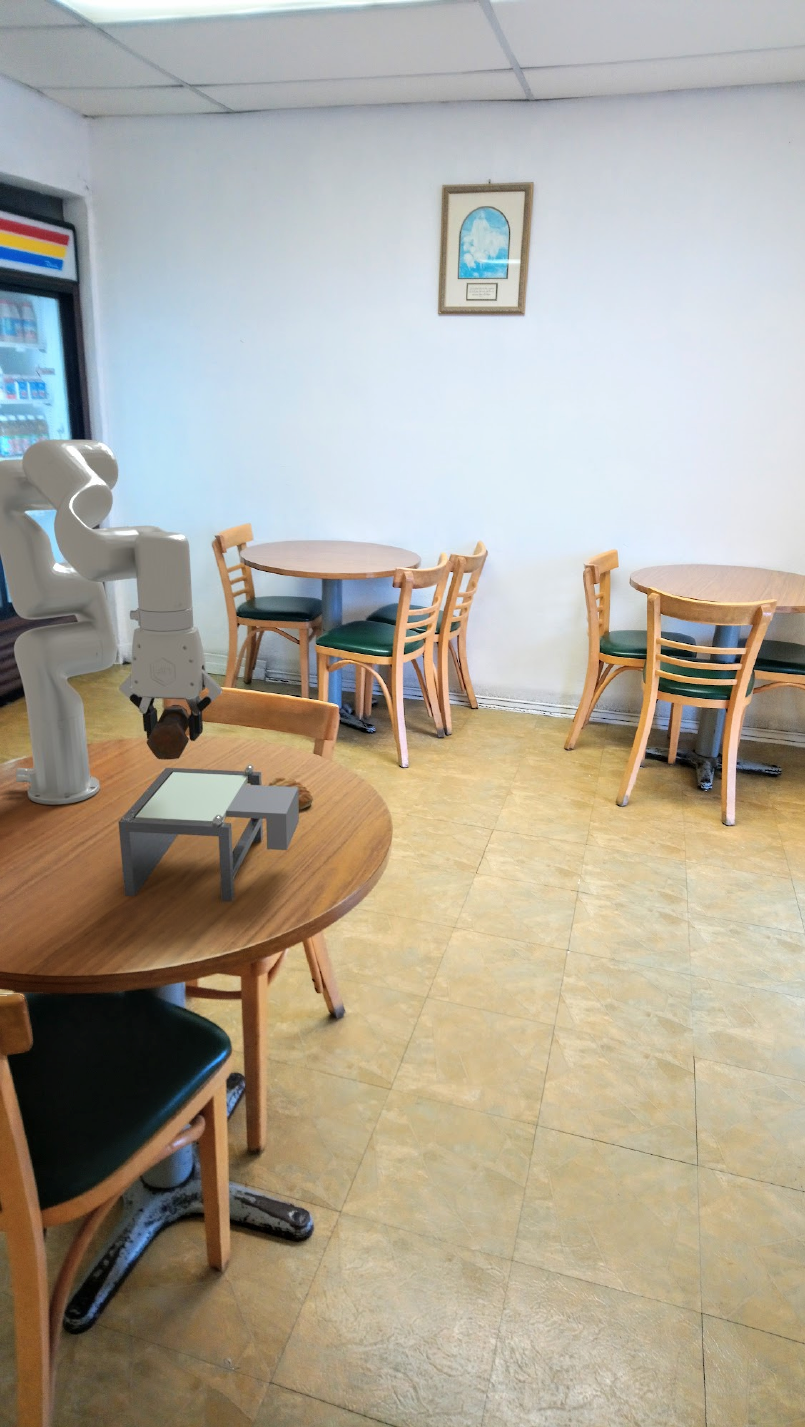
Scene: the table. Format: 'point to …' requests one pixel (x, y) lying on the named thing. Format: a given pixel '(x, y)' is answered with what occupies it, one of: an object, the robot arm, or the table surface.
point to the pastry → (303, 794)
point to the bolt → (170, 733)
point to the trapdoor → (226, 803)
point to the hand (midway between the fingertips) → (173, 735)
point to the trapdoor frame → (155, 836)
